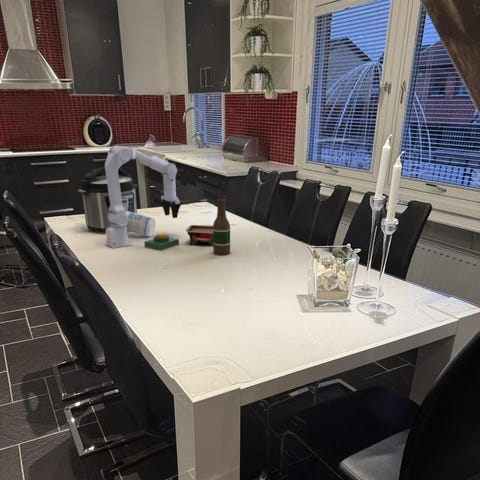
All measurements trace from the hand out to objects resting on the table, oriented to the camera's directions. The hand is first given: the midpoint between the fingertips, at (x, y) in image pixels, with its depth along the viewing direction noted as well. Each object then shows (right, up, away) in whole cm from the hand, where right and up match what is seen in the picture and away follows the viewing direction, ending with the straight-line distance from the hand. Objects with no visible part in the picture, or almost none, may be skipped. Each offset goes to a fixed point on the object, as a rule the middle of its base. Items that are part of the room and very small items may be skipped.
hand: (171, 216), depth 232 cm
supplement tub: (-9, -6, +1) cm, 11 cm away
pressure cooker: (-34, -3, +18) cm, 38 cm away
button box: (-2, -17, -12) cm, 21 cm away
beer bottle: (+26, -22, -22) cm, 40 cm away
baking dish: (+18, -14, -6) cm, 24 cm away
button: (-2, -13, -14) cm, 19 cm away
